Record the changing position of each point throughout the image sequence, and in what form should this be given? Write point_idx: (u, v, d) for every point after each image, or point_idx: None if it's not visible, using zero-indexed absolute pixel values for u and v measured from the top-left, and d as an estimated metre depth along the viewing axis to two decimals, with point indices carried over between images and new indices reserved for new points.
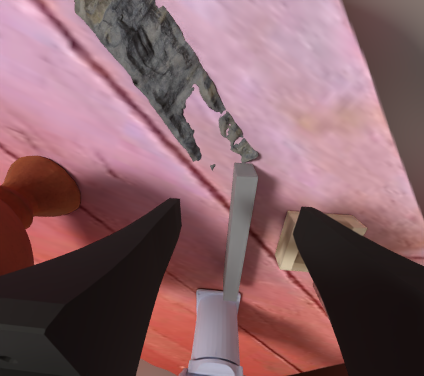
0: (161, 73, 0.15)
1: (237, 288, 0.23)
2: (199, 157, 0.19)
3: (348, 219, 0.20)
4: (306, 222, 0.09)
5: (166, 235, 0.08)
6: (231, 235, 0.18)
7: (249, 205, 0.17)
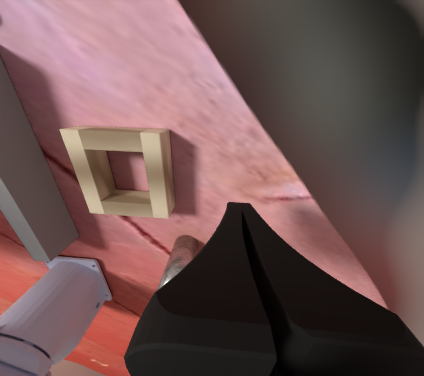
0: None
1: (36, 240, 0.17)
2: None
3: (152, 130, 0.14)
4: None
5: None
6: None
7: None
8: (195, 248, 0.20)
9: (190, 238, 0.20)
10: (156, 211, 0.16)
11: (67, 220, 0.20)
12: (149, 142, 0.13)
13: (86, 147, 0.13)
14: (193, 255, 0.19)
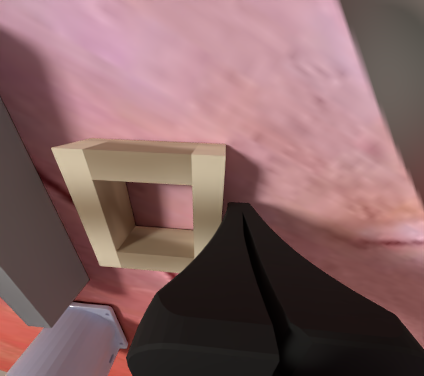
0: None
1: (29, 305, 0.11)
2: None
3: (204, 147, 0.08)
4: None
5: None
6: None
7: None
8: None
9: None
10: None
11: (74, 263, 0.15)
12: (206, 170, 0.07)
13: (96, 177, 0.08)
14: None
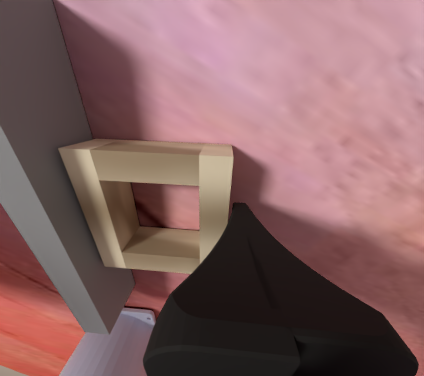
0: None
1: (95, 311, 0.11)
2: None
3: (211, 147, 0.08)
4: None
5: None
6: None
7: None
8: None
9: None
10: None
11: None
12: (213, 171, 0.07)
13: (103, 177, 0.08)
14: None
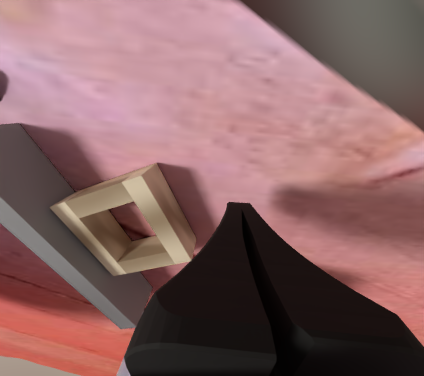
0: None
1: (117, 310, 0.15)
2: None
3: (138, 171, 0.12)
4: None
5: None
6: (21, 240, 0.12)
7: None
8: None
9: None
10: (175, 257, 0.13)
11: (137, 275, 0.18)
12: (135, 188, 0.11)
13: (80, 215, 0.12)
14: None
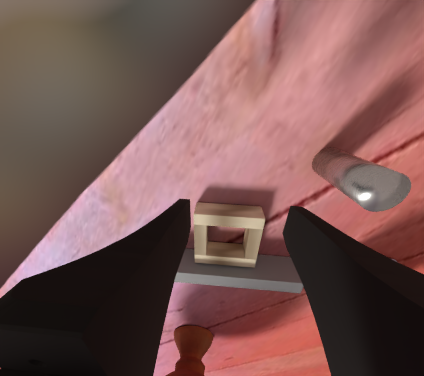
0: None
1: (278, 282, 0.20)
2: None
3: None
4: (294, 221, 0.09)
5: (178, 236, 0.08)
6: (202, 283, 0.22)
7: None
8: (332, 151, 0.16)
9: (317, 156, 0.17)
10: (256, 226, 0.19)
11: (272, 258, 0.23)
12: (199, 220, 0.19)
13: (204, 253, 0.21)
14: (337, 155, 0.15)
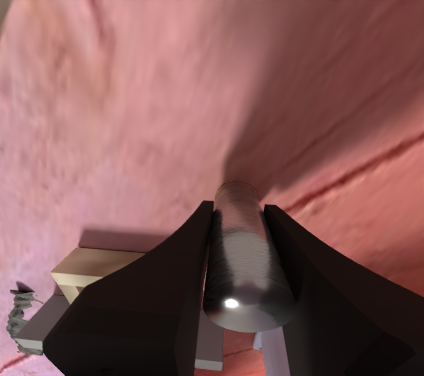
0: None
1: None
2: None
3: None
4: (267, 219, 0.09)
5: (208, 238, 0.08)
6: None
7: None
8: (229, 190, 0.10)
9: (216, 193, 0.11)
10: None
11: None
12: (62, 280, 0.13)
13: None
14: (227, 200, 0.09)
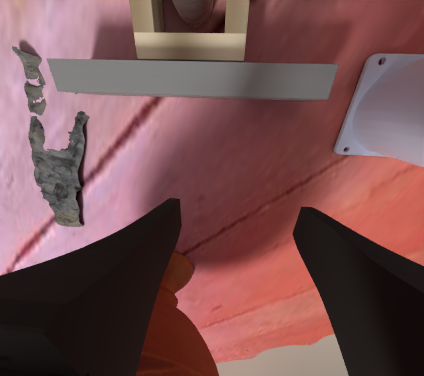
0: (58, 174, 0.20)
1: (287, 66, 0.11)
2: (80, 112, 0.17)
3: None
4: (306, 222, 0.09)
5: (166, 235, 0.08)
6: (150, 91, 0.12)
7: (91, 66, 0.12)
8: None
9: None
10: None
11: None
12: None
13: (151, 27, 0.11)
14: None
